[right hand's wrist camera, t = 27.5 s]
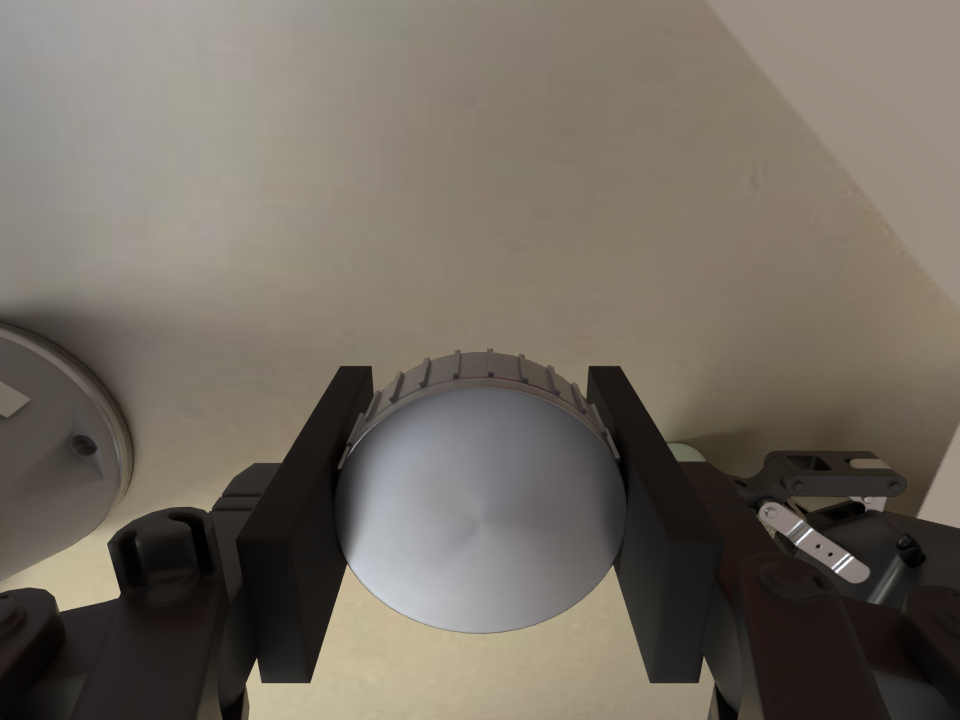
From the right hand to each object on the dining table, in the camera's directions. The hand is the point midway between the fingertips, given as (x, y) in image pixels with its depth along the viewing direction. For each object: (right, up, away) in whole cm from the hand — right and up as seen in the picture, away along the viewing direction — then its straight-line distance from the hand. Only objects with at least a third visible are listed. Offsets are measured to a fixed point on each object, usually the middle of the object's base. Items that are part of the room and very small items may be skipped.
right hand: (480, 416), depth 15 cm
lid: (0, -1, -4) cm, 4 cm away
